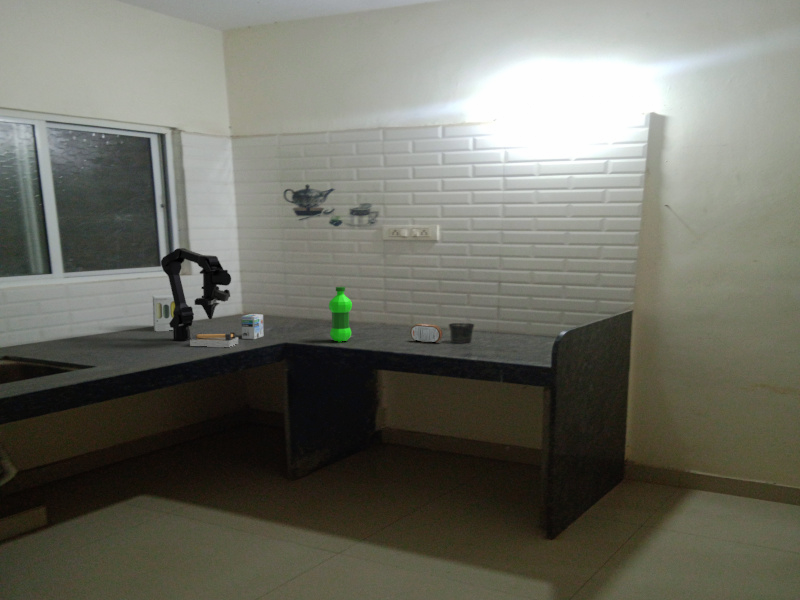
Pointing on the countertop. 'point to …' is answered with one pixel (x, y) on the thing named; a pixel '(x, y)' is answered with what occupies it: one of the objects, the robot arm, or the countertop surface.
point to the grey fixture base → (214, 341)
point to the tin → (426, 332)
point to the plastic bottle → (340, 316)
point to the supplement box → (163, 312)
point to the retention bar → (212, 335)
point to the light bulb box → (252, 326)
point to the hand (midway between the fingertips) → (210, 318)
